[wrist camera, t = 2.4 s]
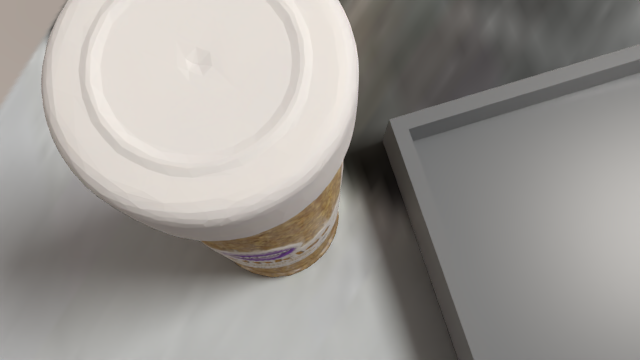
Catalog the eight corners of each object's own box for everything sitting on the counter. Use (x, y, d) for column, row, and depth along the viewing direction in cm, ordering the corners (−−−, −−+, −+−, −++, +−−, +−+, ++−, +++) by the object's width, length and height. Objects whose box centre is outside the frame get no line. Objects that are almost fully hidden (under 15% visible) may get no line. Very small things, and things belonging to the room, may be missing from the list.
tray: (509, 505, 19) (536, 536, 16) (382, 140, 22) (389, 119, 19) (870, 383, 19) (948, 394, 17) (703, 43, 22) (749, 10, 20)
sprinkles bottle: (238, 296, 20) (75, 277, 7) (199, 178, 21) (-6, -28, 8) (359, 251, 21) (412, 155, 8) (315, 136, 22) (296, -127, 8)
